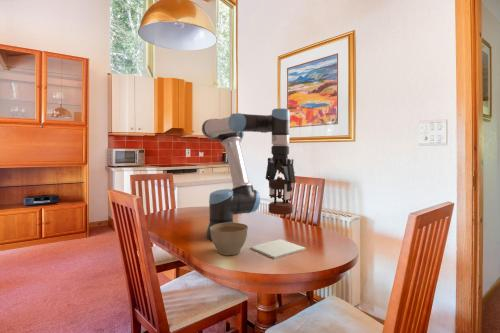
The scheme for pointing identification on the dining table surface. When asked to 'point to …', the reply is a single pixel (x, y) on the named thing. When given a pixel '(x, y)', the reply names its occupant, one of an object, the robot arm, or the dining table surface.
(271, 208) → the music box
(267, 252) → the board
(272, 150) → the robot arm
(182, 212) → the dining table surface
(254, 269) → the dining table surface
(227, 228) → the planter bowl
